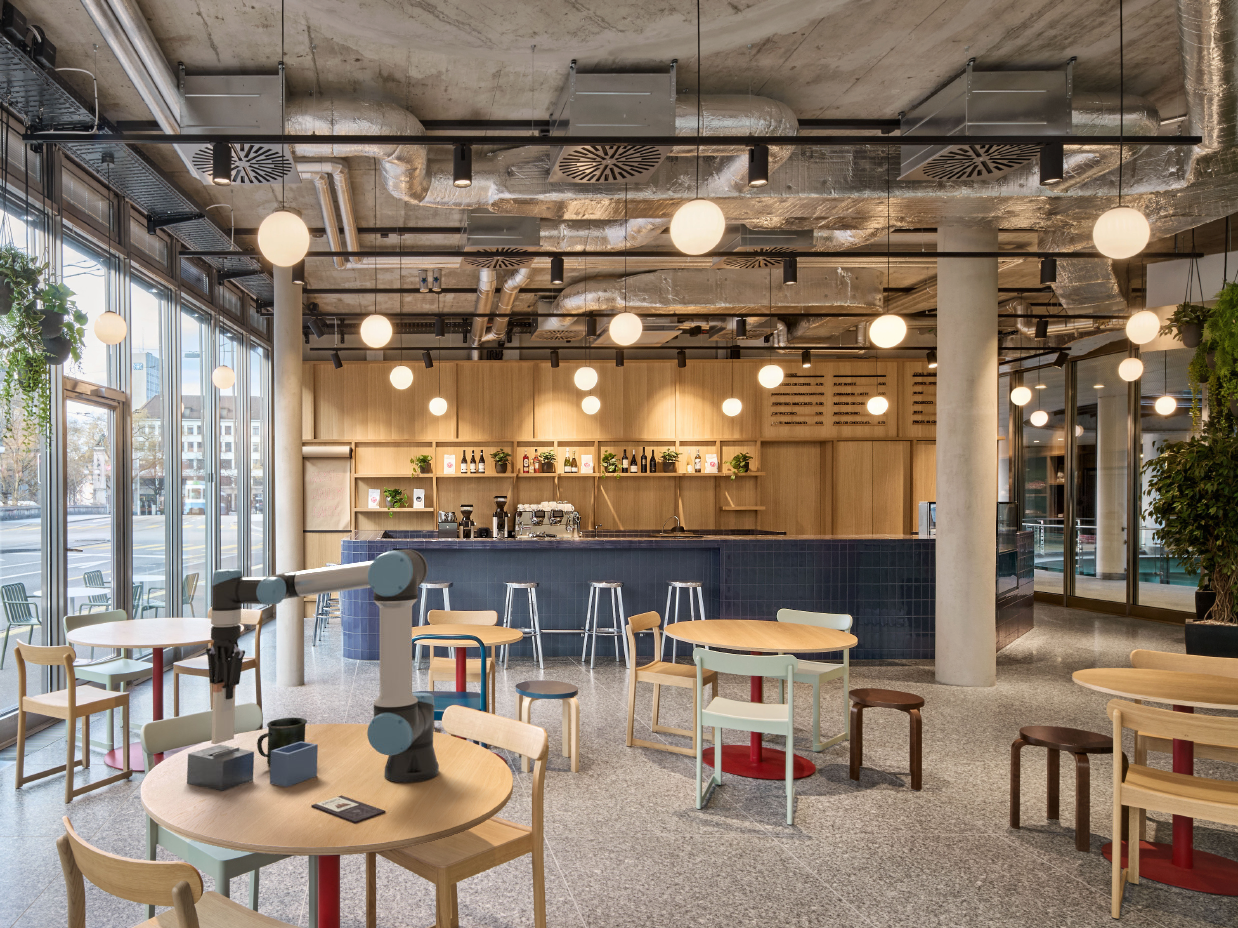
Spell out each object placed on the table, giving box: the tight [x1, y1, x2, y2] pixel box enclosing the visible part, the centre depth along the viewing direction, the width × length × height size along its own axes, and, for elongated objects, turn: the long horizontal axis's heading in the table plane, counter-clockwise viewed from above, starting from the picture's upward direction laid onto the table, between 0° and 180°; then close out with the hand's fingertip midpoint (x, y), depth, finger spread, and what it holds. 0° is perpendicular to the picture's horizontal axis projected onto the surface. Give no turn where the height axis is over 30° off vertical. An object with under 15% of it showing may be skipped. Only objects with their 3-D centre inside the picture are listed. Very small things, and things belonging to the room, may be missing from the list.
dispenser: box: [186, 744, 255, 793], centre depth 229 cm, size 14×10×9 cm
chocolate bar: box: [311, 795, 386, 825], centre depth 209 cm, size 9×1×18 cm
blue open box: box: [269, 741, 319, 788], centre depth 232 cm, size 7×11×9 cm, turn 154°
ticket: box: [211, 682, 237, 745], centre depth 229 cm, size 2×6×16 cm, turn 154°
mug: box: [256, 717, 308, 767], centre depth 245 cm, size 11×15×12 cm
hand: (223, 710), depth 229 cm, fingers closed on ticket, 1 cm apart
